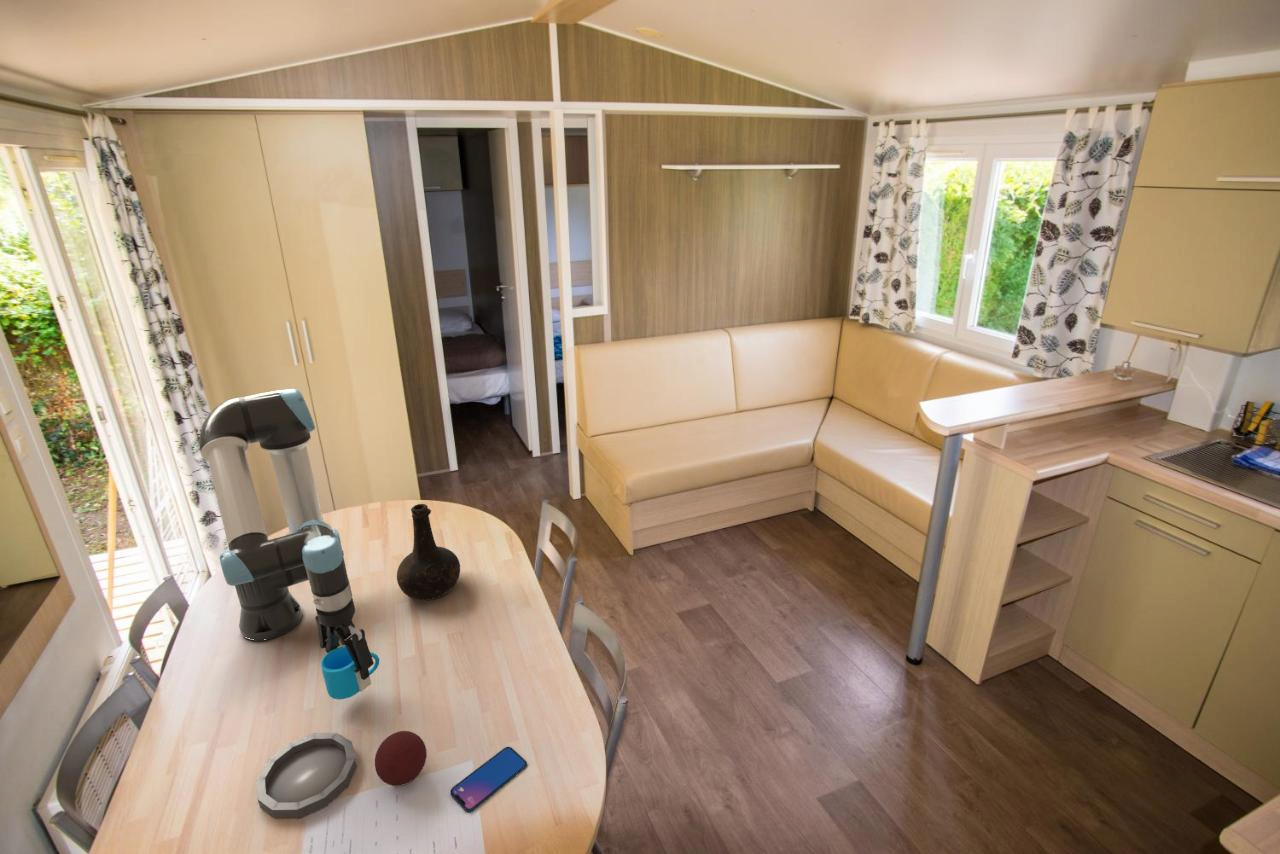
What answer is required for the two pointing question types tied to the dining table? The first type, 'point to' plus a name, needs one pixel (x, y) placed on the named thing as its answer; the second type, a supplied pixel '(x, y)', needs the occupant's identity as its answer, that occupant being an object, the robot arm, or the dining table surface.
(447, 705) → the dining table surface
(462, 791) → the smartphone
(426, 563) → the glass bottle
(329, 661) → the mug
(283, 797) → the holder ring
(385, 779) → the decorative ball
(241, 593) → the robot arm
